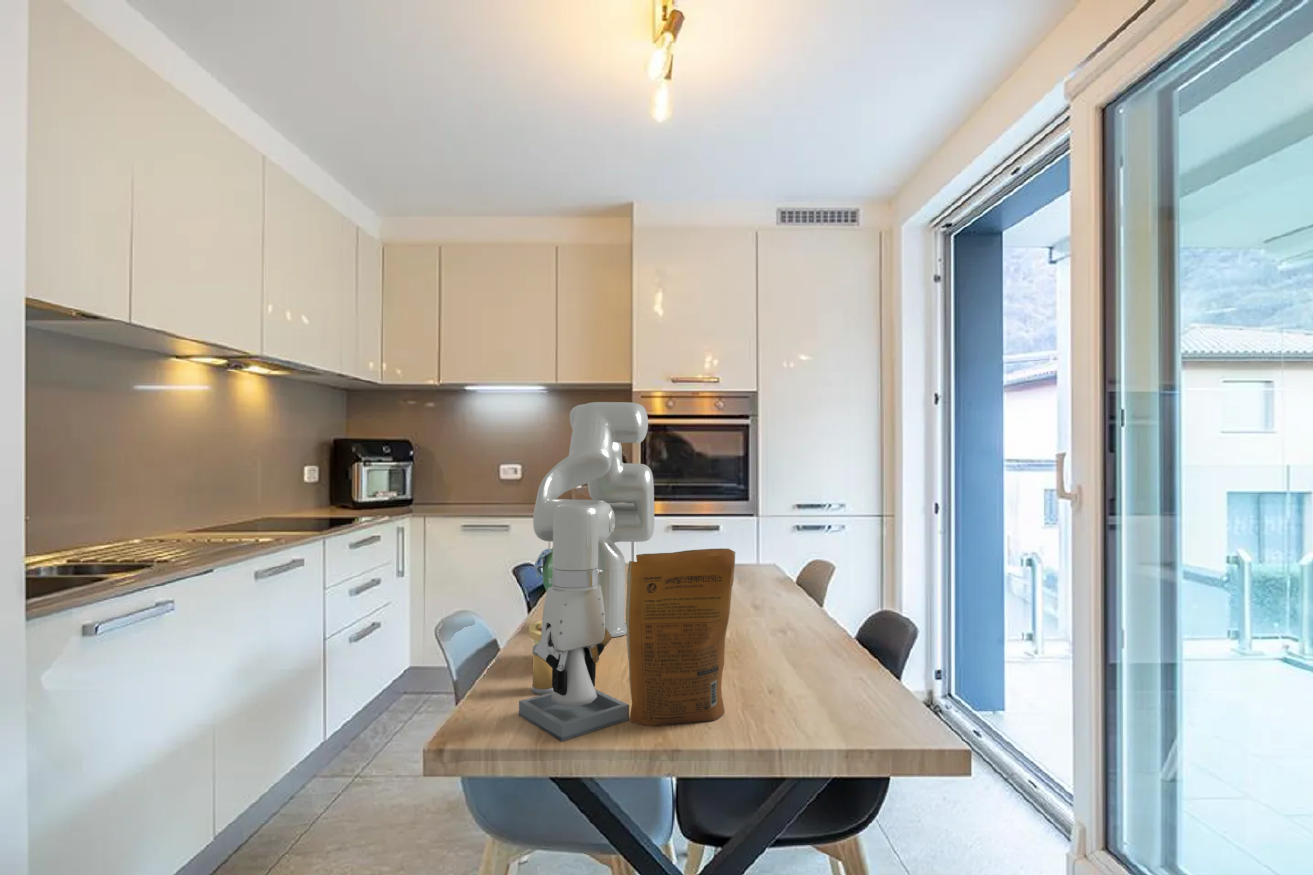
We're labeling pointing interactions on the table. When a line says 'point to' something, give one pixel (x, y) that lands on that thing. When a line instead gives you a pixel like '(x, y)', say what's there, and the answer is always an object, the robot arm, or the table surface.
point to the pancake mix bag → (678, 634)
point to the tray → (573, 715)
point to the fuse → (541, 674)
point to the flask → (576, 682)
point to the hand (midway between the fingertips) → (574, 687)
